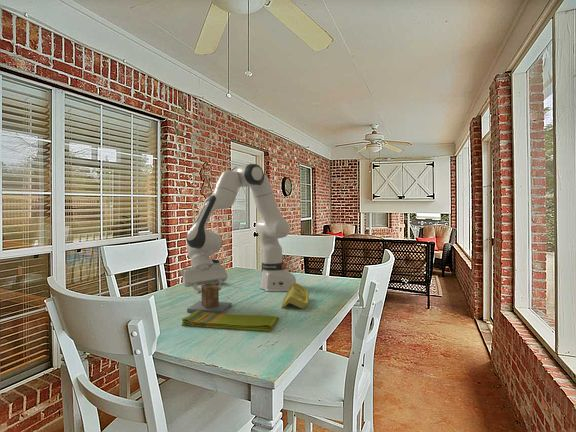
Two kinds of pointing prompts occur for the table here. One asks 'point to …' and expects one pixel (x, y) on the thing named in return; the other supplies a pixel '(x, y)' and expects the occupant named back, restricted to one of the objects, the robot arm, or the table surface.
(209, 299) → the housing
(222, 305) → the mounting plate
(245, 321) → the dish towel
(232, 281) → the table surface
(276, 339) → the table surface
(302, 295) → the plastic component
